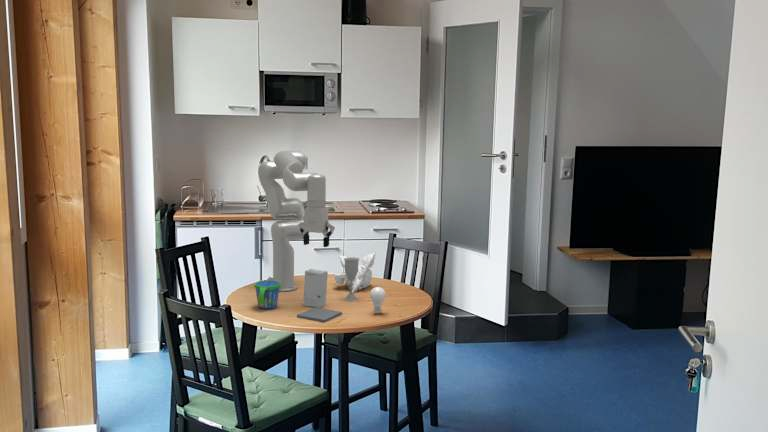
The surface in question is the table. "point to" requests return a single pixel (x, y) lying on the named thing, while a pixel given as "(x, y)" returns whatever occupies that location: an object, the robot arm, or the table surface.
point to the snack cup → (267, 293)
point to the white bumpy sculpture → (358, 273)
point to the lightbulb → (377, 298)
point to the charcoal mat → (319, 314)
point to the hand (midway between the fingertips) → (316, 245)
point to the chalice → (351, 274)
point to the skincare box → (315, 288)
